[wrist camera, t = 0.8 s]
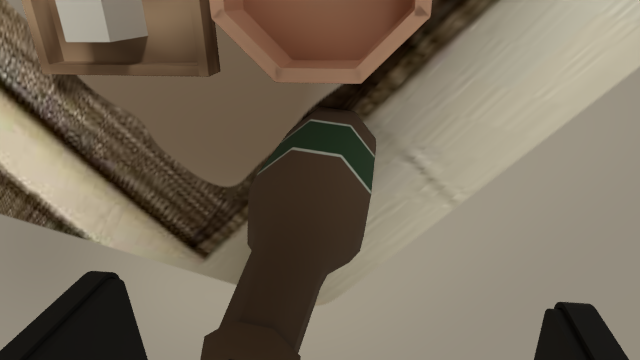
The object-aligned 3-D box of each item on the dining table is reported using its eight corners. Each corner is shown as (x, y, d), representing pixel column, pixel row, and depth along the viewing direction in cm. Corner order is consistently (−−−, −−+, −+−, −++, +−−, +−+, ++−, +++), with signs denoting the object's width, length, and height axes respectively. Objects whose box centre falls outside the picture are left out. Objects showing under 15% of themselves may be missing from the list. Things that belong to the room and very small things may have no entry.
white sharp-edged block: (97, -18, 32) (49, -20, 28) (138, -19, 32) (96, -21, 27) (109, 35, 34) (66, 42, 29) (148, 35, 33) (110, 42, 29)
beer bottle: (395, 132, 34) (403, 373, 12) (349, 201, 37) (291, 485, 16) (315, 85, 33) (175, 252, 12) (275, 160, 37) (110, 395, 15)
